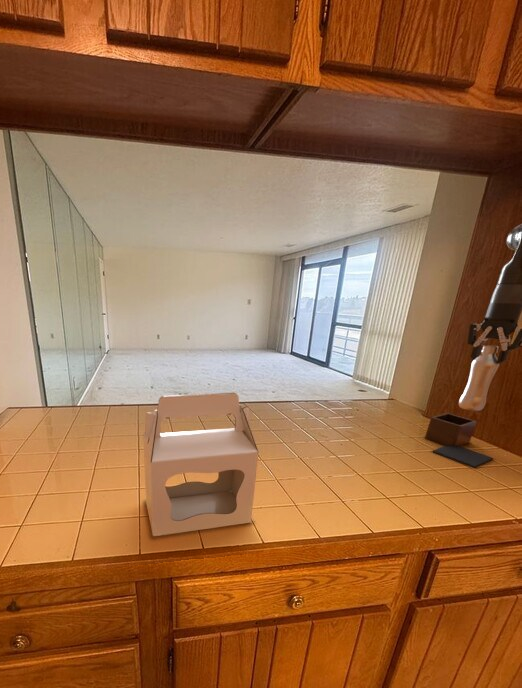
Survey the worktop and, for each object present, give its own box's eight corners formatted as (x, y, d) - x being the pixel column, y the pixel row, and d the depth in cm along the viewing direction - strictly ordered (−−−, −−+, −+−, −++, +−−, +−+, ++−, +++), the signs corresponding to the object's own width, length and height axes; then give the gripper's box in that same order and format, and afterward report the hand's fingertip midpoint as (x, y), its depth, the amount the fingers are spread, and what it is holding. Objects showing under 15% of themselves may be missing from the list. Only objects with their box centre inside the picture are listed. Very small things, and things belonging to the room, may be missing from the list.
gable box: (232, 491, 88) (240, 383, 77) (252, 522, 76) (265, 401, 65) (144, 501, 83) (140, 388, 72) (151, 537, 71) (147, 408, 60)
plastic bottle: (456, 405, 114) (476, 343, 107) (482, 409, 111) (504, 346, 103) (456, 410, 110) (476, 346, 102) (483, 414, 106) (506, 348, 98)
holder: (440, 433, 128) (447, 412, 125) (469, 442, 121) (477, 421, 118) (424, 438, 124) (431, 417, 120) (453, 448, 116) (461, 426, 113)
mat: (451, 445, 118) (452, 443, 118) (492, 459, 109) (493, 457, 109) (432, 452, 113) (432, 450, 113) (474, 467, 103) (474, 466, 103)
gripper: (545, 303, 93) (521, 365, 100) (484, 300, 105) (466, 356, 112) (533, 302, 90) (509, 367, 97) (471, 300, 102) (454, 358, 108)
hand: (486, 361), depth 104 cm, fingers closed on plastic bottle, 5 cm apart
